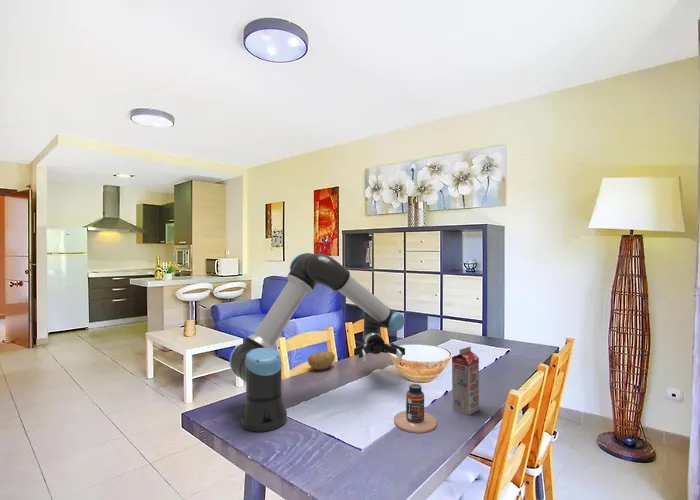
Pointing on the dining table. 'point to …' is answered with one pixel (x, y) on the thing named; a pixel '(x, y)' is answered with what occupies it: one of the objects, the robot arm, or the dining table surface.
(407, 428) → the saucer
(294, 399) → the dining table surface
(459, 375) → the juice carton
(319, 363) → the potato
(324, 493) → the dining table surface
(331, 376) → the dining table surface
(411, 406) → the supplement bottle
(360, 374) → the dining table surface
